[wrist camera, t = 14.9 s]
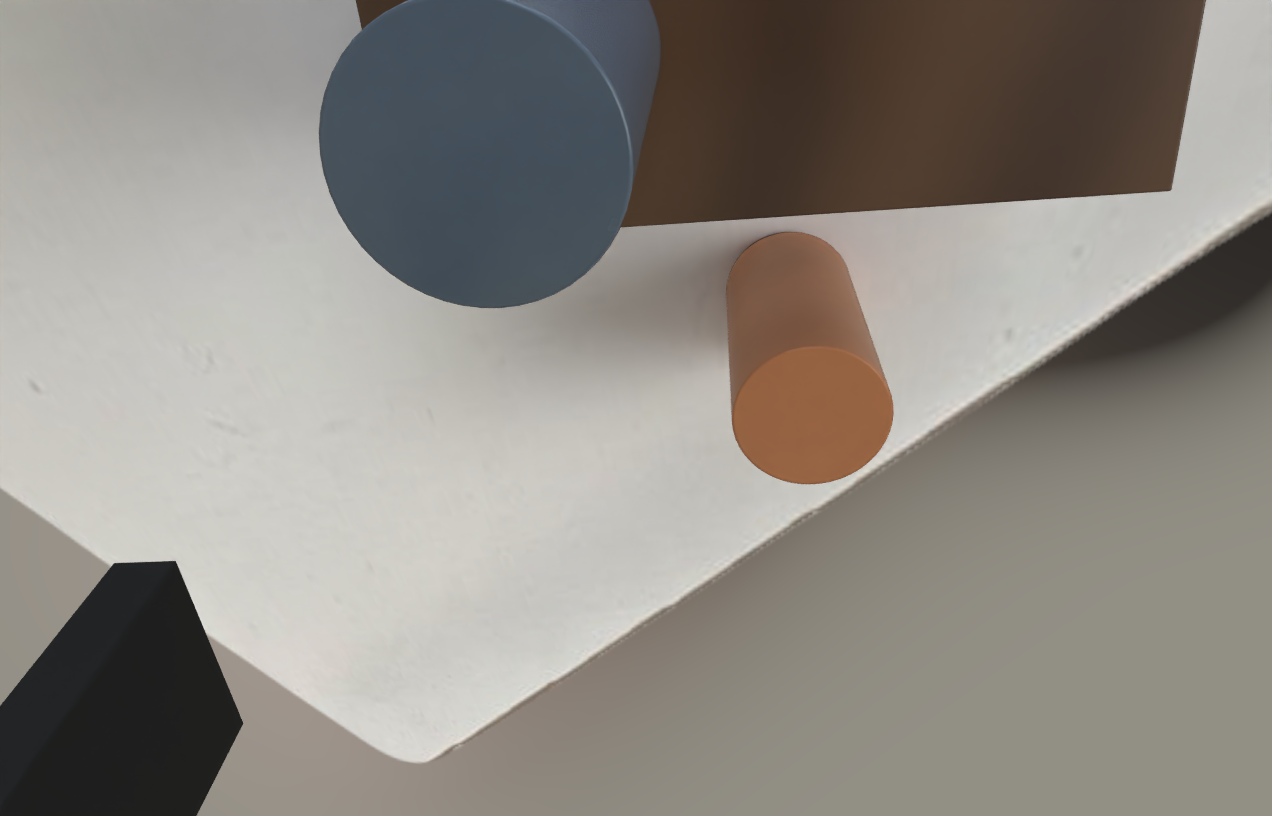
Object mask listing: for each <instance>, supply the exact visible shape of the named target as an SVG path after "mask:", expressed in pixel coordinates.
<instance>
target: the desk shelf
mask: <svg viewBox="0 0 1272 816" xmlns="http://www.w3.org/2000/svg"><path fill="white" fill-rule="evenodd" d="M405 1H408V0H356V4H357V8H358V13H359V18H360V22H361V27H362V30H363V29H364V28H365V27H366V26H367V25H368V24H369V23H370V22H372V21H373V20H374V19H376V18H377V17H379V16H380V15H381V14H383V13H384V12H386V11H388V10H390V9H392V8H394V7H395V6H397V5H399V4H401V3H403V2H405ZM649 2H650V4H651V7H652V9H653V12H654V14H655V17H656V21H657V25H658V29H659V35H660V42H661V61H660V69H659V75H658V79H657V83H656V88H655V92H654V96H653V100H652V105H651V109H650V113H649V118H648V122H647V126H646V131H645V135H644V139H643V144H642V148H641V152H640V157H639V161H638V165H637V170H636V174H635V178H634V183H633V187H632V191H631V195H630V200H629V204H628V208H627V212H626V214H625V217H624V219H623V222H622V224H621V227H633V226H648V225H663V224H678V223H694V222H709V221H724V220H739V219H754V218H769V217H784V216H799V215H814V214H830V213H845V212H860V211H875V210H890V209H905V208H920V207H935V206H950V205H965V204H981V203H996V202H1011V201H1026V200H1041V199H1056V198H1071V197H1086V196H1101V195H1117V194H1132V193H1147V192H1162V191H1170V190H1171V189H1172V183H1173V178H1174V172H1175V167H1176V161H1177V156H1178V150H1179V145H1180V139H1181V134H1182V128H1183V123H1184V117H1185V112H1186V106H1187V101H1188V96H1189V90H1190V85H1191V79H1192V74H1193V68H1194V63H1195V57H1196V52H1197V46H1198V41H1199V35H1200V30H1201V24H1202V19H1203V13H1204V8H1205V2H1206V0H649Z"/></svg>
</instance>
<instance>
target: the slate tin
mask: <svg viewBox="0 0 1272 816" xmlns="http://www.w3.org/2000/svg"><path fill="white" fill-rule="evenodd" d="M660 61H661V42H660V35H659V29H658V25H657V21H656V17H655V14H654V12H653V9H652V7H651V4H650V2H649V0H408V1H405V2H403V3H401V4H399V5H397V6H395V7H394V8H392V9H390V10H388V11H386V12H384V13H383V14H381V15H380V16H379V17H377V18H376V19H374V20H373V21H372V22H370V23H369V24H368V25H367V26H366V27H365V28H364V29H363V30H362V31H361V32H360V33H359V34H358V35H357V36H356V37H354V39H353V40H352V41H351V43H350V44H349V45H348V47H347V48H346V49H345V51H344V52H343V53H342V55H341V56H340V58H339V60H338V62H337V64H336V66H335V68H334V69H333V71H332V73H331V76H330V79H329V81H328V84H327V87H326V90H325V93H324V97H323V102H322V107H321V112H320V124H319V144H320V156H321V161H322V167H323V172H324V176H325V179H326V182H327V186H328V189H329V192H330V195H331V197H332V199H333V201H334V204H335V206H336V208H337V210H338V212H339V214H340V216H341V218H342V219H343V221H344V223H345V224H346V226H347V228H348V229H349V231H350V232H351V233H352V235H353V236H354V237H355V239H356V240H357V241H358V243H359V244H360V245H361V247H362V248H363V249H364V250H365V251H366V252H367V253H368V254H369V255H370V256H371V257H372V258H373V259H374V260H375V261H376V262H377V263H378V264H380V265H381V266H382V267H383V268H384V269H386V270H387V271H388V272H389V273H390V274H392V275H393V276H395V277H396V278H398V279H399V280H401V281H402V282H404V283H405V284H407V285H408V286H410V287H412V288H414V289H416V290H418V291H420V292H422V293H424V294H426V295H429V296H432V297H435V298H437V299H440V300H443V301H446V302H450V303H454V304H458V305H462V306H470V307H478V308H504V307H512V306H520V305H524V304H528V303H532V302H536V301H539V300H541V299H544V298H546V297H549V296H551V295H554V294H556V293H558V292H560V291H561V290H563V289H565V288H567V287H568V286H570V285H572V284H573V283H574V282H576V281H577V280H578V279H580V278H581V277H582V276H584V275H585V274H586V273H587V272H588V271H589V270H590V269H591V268H592V267H593V266H594V265H595V264H596V263H597V262H598V261H599V260H600V259H601V257H602V256H603V255H604V253H605V252H606V251H607V249H608V248H609V247H610V245H611V243H612V242H613V240H614V238H615V236H616V235H617V233H618V231H619V229H620V227H621V224H622V222H623V219H624V217H625V214H626V212H627V208H628V204H629V200H630V195H631V191H632V187H633V183H634V178H635V174H636V170H637V165H638V161H639V157H640V152H641V148H642V144H643V139H644V135H645V131H646V126H647V122H648V118H649V113H650V109H651V105H652V100H653V96H654V92H655V88H656V83H657V79H658V75H659V69H660Z"/></svg>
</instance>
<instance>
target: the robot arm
mask: <svg viewBox="0 0 1272 816" xmlns="http://www.w3.org/2000/svg"><path fill="white" fill-rule="evenodd" d="M242 725H243V721H242V719H241V717H240V714H239V712H238V709H237V707H236V705H235V702H234V700H233V697H232V695H231V693H230V690H229V688H228V686H227V683H226V681H225V678H224V676H223V674H222V671H221V669H220V666H219V664H218V662H217V659H216V657H215V654H214V652H213V650H212V647H211V645H210V643H209V640H208V638H207V635H206V633H205V630H204V628H203V626H202V623H201V621H200V618H199V616H198V614H197V611H196V609H195V606H194V604H193V602H192V599H191V597H190V594H189V592H188V590H187V587H186V585H185V582H184V580H183V578H182V575H181V573H180V570H179V568H178V566H177V563H176V561H163V562H135V563H114V564H113V565H112V567H111V568H110V569H109V570H108V572H107V573H106V574H105V575H104V577H103V578H102V579H101V580H100V582H99V583H98V584H97V585H96V587H95V588H94V589H93V590H92V592H91V593H90V594H89V596H88V597H87V598H86V599H85V600H84V602H83V603H82V604H81V606H80V607H79V608H78V609H77V611H76V612H75V613H74V614H73V615H72V617H71V618H70V619H69V620H68V622H67V623H66V624H65V626H64V627H63V628H62V629H61V631H60V632H59V633H58V634H57V636H56V637H55V638H54V639H53V641H52V642H51V643H50V644H49V646H48V647H47V648H46V649H45V651H44V652H43V653H42V654H41V656H40V657H39V658H38V659H37V661H36V662H35V663H34V664H33V666H32V667H31V668H30V669H29V671H28V672H27V673H26V674H25V676H24V677H23V678H22V679H21V681H20V682H19V683H18V685H17V686H16V687H15V688H14V690H13V691H12V692H11V693H10V694H9V696H8V697H7V698H6V700H5V701H4V702H3V703H2V705H1V706H0V816H196V815H197V813H198V811H199V810H200V807H201V806H202V804H203V802H204V800H205V798H206V796H207V794H208V792H209V790H210V788H211V786H212V784H213V782H214V780H215V778H216V776H217V774H218V772H219V770H220V768H221V766H222V764H223V762H224V760H225V758H226V756H227V754H228V752H229V750H230V748H231V746H232V745H233V743H234V741H235V739H236V736H237V735H238V733H239V730H240V729H241V727H242Z"/></svg>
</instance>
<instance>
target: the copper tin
mask: <svg viewBox="0 0 1272 816" xmlns="http://www.w3.org/2000/svg"><path fill="white" fill-rule="evenodd" d="M726 300H727V323H728V345H729V368H730V391H731V413H732V426H733V432H734V435H735V439H736V441H737V443H738V445H739V447H740V449H741V450H742V452H743V453H744V455H745V456H746V457H747V458H748V459H749V460H750V461H751V462H752V463H753V464H754V465H755V466H756V467H757V468H759V469H760V470H762V471H763V472H765V473H767V474H769V475H770V476H772V477H775V478H777V479H780V480H783V481H787V482H791V483H798V484H819V483H826V482H831V481H834V480H838V479H841V478H843V477H846V476H848V475H850V474H852V473H854V472H856V471H857V470H859V469H860V468H862V467H863V466H864V465H866V464H867V463H868V462H869V461H870V460H871V459H872V458H874V457H875V455H876V454H877V453H878V452H879V450H880V449H881V448H882V446H883V444H884V443H885V441H886V439H887V437H888V435H889V432H890V429H891V426H892V421H893V401H892V396H891V393H890V390H889V387H888V384H887V381H886V378H885V375H884V373H883V370H882V367H881V364H880V361H879V358H878V355H877V352H876V349H875V347H874V344H873V341H872V338H871V335H870V332H869V329H868V326H867V324H866V321H865V318H864V315H863V312H862V309H861V306H860V303H859V300H858V298H857V295H856V292H855V289H854V286H853V283H852V280H851V277H850V274H849V272H848V269H847V266H846V264H845V262H844V260H843V259H842V257H841V256H840V254H839V253H838V252H837V251H836V250H835V249H834V248H833V247H832V246H831V245H829V244H828V243H827V242H825V241H823V240H821V239H820V238H817V237H815V236H812V235H809V234H805V233H797V232H786V233H778V234H774V235H771V236H768V237H765V238H763V239H761V240H759V241H757V242H755V243H754V244H753V245H751V246H750V247H749V248H747V249H746V250H745V251H744V252H743V253H742V254H741V255H740V257H739V258H738V259H737V261H736V262H735V264H734V265H733V267H732V269H731V272H730V274H729V277H728V281H727V287H726Z"/></svg>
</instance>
